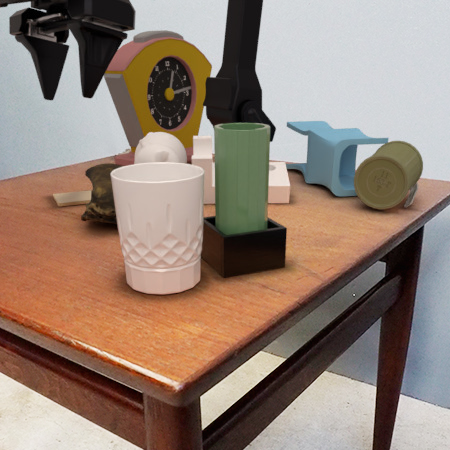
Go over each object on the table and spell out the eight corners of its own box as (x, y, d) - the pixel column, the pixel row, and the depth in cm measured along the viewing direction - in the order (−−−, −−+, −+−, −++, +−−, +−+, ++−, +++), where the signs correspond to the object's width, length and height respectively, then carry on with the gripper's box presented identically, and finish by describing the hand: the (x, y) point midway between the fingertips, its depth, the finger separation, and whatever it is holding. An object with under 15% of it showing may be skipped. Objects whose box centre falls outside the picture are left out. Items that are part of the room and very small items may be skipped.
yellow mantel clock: (138, 175, 89) (127, 29, 80) (102, 168, 94) (88, 30, 85) (222, 155, 105) (221, 31, 95) (187, 150, 110) (183, 31, 101)
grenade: (379, 228, 71) (405, 195, 82) (427, 199, 66) (447, 169, 78) (342, 175, 70) (374, 149, 81) (388, 143, 65) (414, 120, 77)
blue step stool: (330, 197, 76) (283, 169, 94) (381, 194, 78) (326, 167, 95) (335, 139, 73) (286, 121, 90) (388, 137, 74) (330, 120, 92)
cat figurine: (161, 128, 72) (166, 114, 83) (98, 172, 74) (111, 153, 85) (198, 182, 76) (198, 162, 86) (137, 222, 78) (145, 198, 89)
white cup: (124, 265, 53) (115, 162, 49) (204, 263, 54) (202, 161, 49) (116, 300, 46) (105, 183, 42) (209, 296, 47) (207, 180, 42)
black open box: (255, 246, 58) (256, 210, 56) (285, 267, 53) (287, 227, 51) (199, 255, 56) (198, 217, 54) (223, 278, 50) (223, 237, 49)
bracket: (193, 209, 74) (191, 158, 69) (195, 184, 80) (193, 135, 75) (288, 209, 74) (292, 157, 69) (283, 184, 80) (287, 135, 75)
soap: (137, 158, 102) (136, 153, 102) (114, 157, 103) (113, 152, 103) (151, 150, 111) (151, 146, 111) (130, 149, 112) (129, 145, 112)
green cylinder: (252, 249, 57) (254, 121, 52) (274, 266, 53) (279, 127, 47) (208, 256, 55) (205, 124, 50) (228, 274, 51) (227, 131, 46)
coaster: (91, 193, 79) (91, 190, 79) (99, 202, 75) (98, 198, 74) (53, 197, 77) (52, 193, 77) (58, 206, 73) (57, 203, 72)
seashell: (90, 198, 75) (97, 147, 72) (154, 212, 76) (164, 162, 73) (64, 234, 60) (71, 172, 57) (145, 250, 61) (155, 190, 58)
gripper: (-37, -56, 61) (-34, 90, 65) (39, -102, 48) (38, 83, 52) (54, -25, 69) (53, 104, 73) (141, -58, 56) (134, 101, 60)
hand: (67, 98), depth 64 cm, fingers open, 9 cm apart
